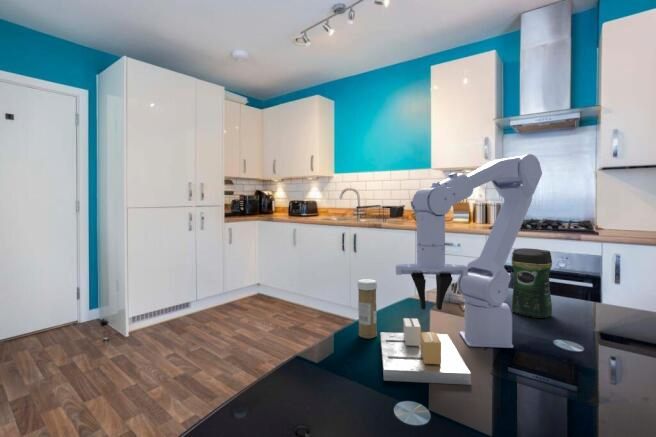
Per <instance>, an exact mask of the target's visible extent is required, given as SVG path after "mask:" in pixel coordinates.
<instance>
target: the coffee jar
mask: <svg viewBox="0 0 656 437" xmlns="http://www.w3.org/2000/svg"><path fill="white" fill-rule="evenodd" d="M511 266H512V268H513V285H512V286H513V288H512V296H511V312H514V313H515V314H518V313H519V314H518V315H521V314H522V315H521V316H525V315H526V316H525V317H529V316H531V317H530V318H535V319H536V318H537V319H542V318H546V319H547V318H550V317H551V315H552V314H553V305H552V297H551V290H550V289H551V287H550V271H551V269H552V267H553V259H552V253H551V252H550V250H545V249H538V248H530V247H529V248H525V247H524V248H521V247H520V248H516V249H514V250H513V252H512V255H511Z"/></svg>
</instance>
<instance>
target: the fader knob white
mask: <svg viewBox="0 0 656 437" xmlns="http://www.w3.org/2000/svg"><path fill="white" fill-rule="evenodd" d="M402 321H403V333H404V340H405V343H406V345H413V346H420V332H422V330H421V329H422V328H421V324H420V321H419V319H418V318H412V317H410V318H406V317H404V318H403V320H402Z"/></svg>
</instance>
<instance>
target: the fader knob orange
mask: <svg viewBox="0 0 656 437" xmlns="http://www.w3.org/2000/svg"><path fill="white" fill-rule="evenodd" d="M437 334H438V333H437V332H433V331H431V332H430V331H426V332H425V331H421V332H420V352H421V355H422V358H423V361H424V364H441V341H440V339H439V337H438V336H437Z"/></svg>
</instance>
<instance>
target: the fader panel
mask: <svg viewBox="0 0 656 437" xmlns="http://www.w3.org/2000/svg"><path fill="white" fill-rule="evenodd" d="M436 334H437V336H438V337H439V339H440V341H441V364H424V361H423V358H422V355H421V352H420V346H413V345H406V343H405V340H404V332H387V331H386V332H383V331H382V332H380V349H381V361H382V363H381V364H382V373H383V381H389V382H409V383H428V384H429V383H431V384H451V385H453V384H454V385H470V386H471V384H472V372H471V371H470V370H469V368H468V366H467V365H466V363H465V361H464V359H463V358H462V356H461V354H460V353H459V351H458V350H457V347H456V346H455V344H454V343H453V341H452V339H451V338H450V336H449V334H447V333H436Z"/></svg>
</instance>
